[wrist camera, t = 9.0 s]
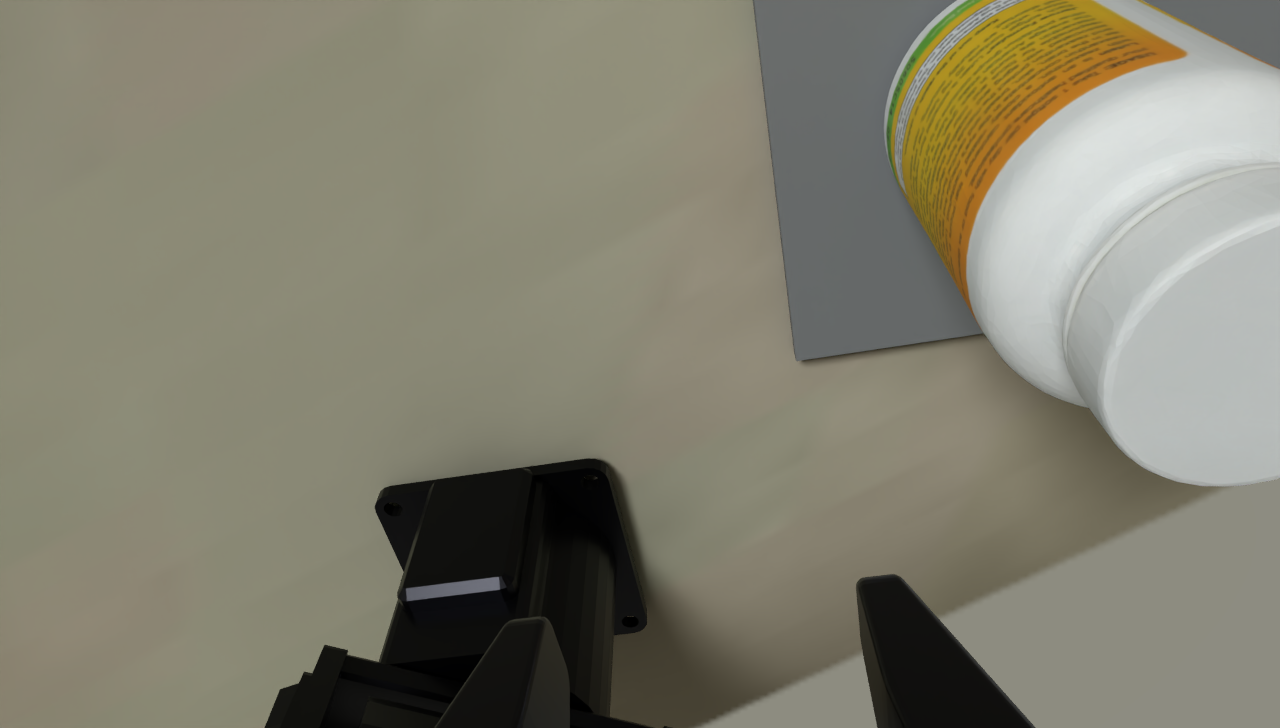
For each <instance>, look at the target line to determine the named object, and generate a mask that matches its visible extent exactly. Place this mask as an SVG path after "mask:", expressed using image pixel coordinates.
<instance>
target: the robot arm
mask: <svg viewBox="0 0 1280 728" xmlns="http://www.w3.org/2000/svg"><path fill="white" fill-rule="evenodd" d="M587 475H593V476H595V477H597V478H598V479H595V480H588V479H586V478H584V477H585V476H587ZM390 502H392V503H397V504H399V505H400V507H399V506H393V505H391V504H390ZM375 510H376V513H377V515H378V517H379V520H380V522H381V524H382V526H383V528H384V530H385V533H386V535H387V537H388V539H389V541H390V543H391V545H392V548H393V550H394V552H395V554H396V556H397V558H398V561H399V563H400V565H401V567H402V569H403V571H404V573H403V576H402V580H401V583H400V586H399V589H398V592H397V596H398V601H397V604H396V607H395V610H394V614H393V617H392V620H391V623H390V627H389V630H388V633H387V636H386V640H385V643H384V646H383V649H382V653H381V656H380V659H379V662H376V661H372V660H368V659H364V658H360V657H355V656H351V655H347V653H348V650H345V649H340V648H336V647H332V646H328V645H324V647H323V650H322V652H321V654H320V657H319V659H318V662H317V664H316V666H315V669H314V671H313V673H308V672H304V673H303V675H302V678H301V680H300V682H299V683H298V684H295V685H292V686H289V687H286V688H283V689H280V691H279V693H278V696H277V698H276V701H275V703H274V706H273V708H272V711H271V713H270V716H269V718H268V721H267V723H266V726H265V728H654V727H650V726H645V725H641V724H637V723H633V722H628V721H624V720H620V719H616V718H612V717H610V698H611V678H612V657H613V637H614V635H620V634H628V633H635V632H639V631H641V630H642V629H644V628H645V626H646V625H647V608H646V604H645V601H644V597H643V593H642V589H641V586H640V582H639V578H638V575H637V571H636V567H635V563H634V560H633V556H632V552H631V549H630V545H629V541H628V538H627V534H626V530H625V526H624V523H623V519H622V515H621V512H620V508H619V504H618V500H617V497H616V493H615V489H614V486H613V482H612V478H611V475H610V471H609V469H608V467H607V465H606V464H604V463H603V462H602V461H600V460H597V459H581V460H573V461H566V462H559V463H552V464H545V465H538V466H530V467H523V468H516V469H509V470H502V471H495V472H487V473H480V474H473V475H466V476H459V477H452V478H444V479H437V480H430V481H423V482H416V483H409V484H401V485H394V486H389V487H386V488H384V489H383V490H382V491H380V494H379V496H378V499H377V502H376V505H375ZM856 592H857V604H858V615H859V626H860V637H861V644H862V650H863V656H864V661H865V666H866V672H867V676H868V682H869V686H870V692H871V697H872V702H873V707H874V712H875V717H876V722H877V727H878V728H1035V727H1034V726H1033V724H1032V723H1031V722H1030V721H1029V720H1028V719H1027V718H1026V717H1025V715H1024V714H1023V713H1022V712H1021V711H1020V710H1019V709H1018V708H1017V706H1016V705H1015V704H1014V703H1013V702H1012V701H1011V700H1010V699H1009V697H1008V696H1007V695H1006V694H1005V693H1004V692H1003V691H1002V690H1001V688H1000V687H999V686H998V685H997V684H996V683H995V682H994V681H993V679H992V678H991V677H990V676H989V675H988V674H987V673H986V672H985V670H984V669H983V668H982V667H981V666H980V665H979V664H978V663H977V661H976V660H975V659H974V658H973V657H972V656H971V655H970V654H969V653H968V651H967V650H966V649H965V648H964V647H963V646H962V645H961V644H960V642H959V641H958V640H957V639H956V638H955V637H954V636H953V635H952V633H951V632H950V631H949V630H948V629H947V628H946V627H945V626H944V624H943V623H942V622H941V621H940V620H939V619H938V618H937V617H936V615H935V614H934V613H933V612H932V611H931V610H930V609H929V608H928V606H927V605H926V604H925V603H924V602H923V601H922V600H921V599H920V597H919V596H918V595H917V594H916V593H915V592H914V591H913V590H912V588H911V587H910V586H909V585H908V584H907V583H906V582H905V581H904V580H903V579H902V578H901V577H900V576H897V575H895V574H890V575H881V576H873V577H865V578H861V579H860V580H859V581H858V582H857V584H856ZM627 616H634V617H627ZM663 728H671V727H667V726H664V727H663Z"/></svg>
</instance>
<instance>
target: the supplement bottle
mask: <svg viewBox="0 0 1280 728" xmlns="http://www.w3.org/2000/svg"><path fill="white" fill-rule="evenodd" d="M884 140H885V147H886V152H887V156H888V161H889V164H890V167H891V170H892V172H893V174H894V176H895V179H896V181H897V183H898V185H899V187H900V189H901V191H902V193H903V194H904V196H905V198H906V199H907V201H908V203H909V205H910V206H911V208H912V210H913V211H914V213H915V215H916V216H917V218H918V220H919V221H920V223H921V225H922V227H923V228H924V230H925V231H926V233H927V234H928V236H929V238H930V240H931V242H932V244H933V245H934V247H935V249H936V251H937V252H938V254H939V256H940V258H941V260H942V262H943V263H944V265H945V267H946V268H947V270H948V272H949V273H950V275H951V277H952V279H953V280H954V282H955V284H956V286H957V288H958V289H959V291H960V293H961V295H962V296H963V298H964V300H965V302H966V304H967V306H968V307H969V309H970V311H971V313H972V315H973V316H974V318H975V320H976V322H977V324H978V325H979V327H980V329H981V330H982V332H983V333H984V334H985V336H986V337H987V338H988V340H989V341H990V343H991V344H992V346H993V347H994V349H995V350H996V351H997V353H998V354H999V355H1000V356H1001V358H1002V359H1003V360H1004V361H1005V362H1006V363H1007V364H1008V366H1009V367H1010V368H1012V369H1013V370H1014V371H1015V372H1016V373H1017V374H1018V375H1020V376H1021V377H1022V378H1023V379H1024V380H1026V381H1027V382H1029V383H1030V384H1032V385H1033V386H1035V387H1036V388H1038V389H1039V390H1041V391H1043V392H1045V393H1047V394H1049V395H1051V396H1053V397H1055V398H1057V399H1060V400H1063V401H1066V402H1069V403H1072V404H1075V405H1078V406H1082V407H1086V408H1089V409H1090V410H1091V412H1092V413H1093V414H1094V416H1095V417H1096V419H1097V420H1098V421H1099V423H1100V424H1101V425H1102V427H1103V428H1104V429H1105V431H1106V432H1107V433H1108V435H1109V436H1110V437H1111V439H1112V440H1113V442H1114V443H1115V444H1116V446H1117V447H1118V448H1119V449H1120V450H1121V451H1122V452H1123V453H1124V454H1125V455H1126V456H1128V457H1129V458H1130V459H1132V460H1133V461H1134V462H1136V463H1137V464H1139V465H1140V466H1141V467H1143V468H1145V469H1146V470H1148V471H1150V472H1152V473H1155V474H1157V475H1160V476H1162V477H1165V478H1167V479H1170V480H1173V481H1176V482H1181V483H1187V484H1193V485H1199V486H1243V485H1250V484H1255V483H1261V482H1267V481H1272V480H1276V479H1279V478H1280V69H1279V68H1277V67H1275V66H1273V65H1271V64H1268V63H1266V62H1264V61H1262V60H1260V59H1258V58H1256V57H1254V56H1252V55H1250V54H1248V53H1246V52H1243V51H1241V50H1239V49H1237V48H1235V47H1234V46H1232V45H1230V44H1228V43H1226V42H1224V41H1222V40H1220V39H1218V38H1216V37H1214V36H1212V35H1210V34H1208V33H1206V32H1204V31H1202V30H1200V29H1198V28H1196V27H1194V26H1192V25H1190V24H1188V23H1186V22H1184V21H1182V20H1180V19H1178V18H1176V17H1174V16H1172V15H1170V14H1168V13H1166V12H1164V11H1163V10H1161V9H1159V8H1157V7H1155V6H1152V5H1150V4H1149V3H1147V2H1145V1H1143V0H956V1H955V2H954V3H952V4H951V5H950V6H948V7H947V8H946V9H945V10H943V11H942V12H941V13H940V14H939V15H937V16H936V17H935V18H934V19H933V20H932V21H931V22H930V23H929V24H928V25H927V26H926V27H925V29H924V30H923V31H922V32H921V33H920V34H919V36H918V37H917V38H916V39H915V41H914V42H913V44H912V45H911V47H910V48H909V50H908V52H907V53H906V55H905V57H904V58H903V60H902V62H901V64H900V66H899V68H898V70H897V72H896V75H895V77H894V79H893V82H892V85H891V88H890V91H889V94H888V99H887V103H886V108H885V117H884Z"/></svg>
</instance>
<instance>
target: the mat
mask: <svg viewBox="0 0 1280 728" xmlns="http://www.w3.org/2000/svg"><path fill="white" fill-rule="evenodd" d="M955 1H956V0H753V5H754V13H755V22H756V30H757V39H758V48H759V56H760V65H761V73H762V82H763V90H764V99H765V107H766V116H767V124H768V133H769V141H770V150H771V158H772V167H773V175H774V184H775V192H776V201H777V209H778V218H779V226H780V235H781V243H782V252H783V260H784V269H785V278H786V286H787V295H788V303H789V312H790V320H791V329H792V337H793V346H794V353H795V358H796V361H800V360H807V359H814V358H821V357H827V356H834V355H841V354H848V353H854V352H861V351H868V350H875V349H881V348H888V347H895V346H902V345H908V344H915V343H922V342H929V341H935V340H942V339H949V338H956V337H962V336H969V335H976V334H983V332H982V330H981V329H980V327H979V325H978V324H977V322H976V320H975V318H974V316H973V315H972V313H971V311H970V309H969V307H968V306H967V304H966V302H965V300H964V298H963V296H962V295H961V293H960V291H959V289H958V288H957V286H956V284H955V282H954V280H953V279H952V277H951V275H950V273H949V272H948V270H947V268H946V267H945V265H944V263H943V262H942V260H941V258H940V256H939V254H938V252H937V251H936V249H935V247H934V245H933V244H932V242H931V240H930V238H929V236H928V234H927V233H926V231H925V230H924V228H923V227H922V225H921V223H920V221H919V220H918V218H917V216H916V215H915V213H914V211H913V210H912V208H911V206H910V205H909V203H908V201H907V199H906V198H905V196H904V194H903V193H902V191H901V189H900V187H899V185H898V183H897V181H896V179H895V176H894V174H893V172H892V170H891V167H890V164H889V161H888V156H887V152H886V147H885V140H884V117H885V108H886V103H887V99H888V94H889V91H890V88H891V85H892V82H893V79H894V77H895V75H896V72H897V70H898V68H899V66H900V64H901V62H902V60H903V58H904V57H905V55H906V53H907V52H908V50H909V48H910V47H911V45H912V44H913V42H914V41H915V39H916V38H917V37H918V36H919V34H920V33H921V32H922V31H923V30H924V29H925V27H926V26H927V25H928V24H929V23H930V22H931V21H932V20H933V19H934V18H935V17H936V16H937V15H939V14H940V13H941V12H942V11H943V10H945V9H946V8H947V7H948V6H950V5H951V4H952V3H954V2H955ZM1143 1H1145V2H1147V3H1149V4H1150V5H1152V6H1155V7H1157V8H1159V9H1161V10H1163V11H1164V12H1166V13H1168V14H1170V15H1172V16H1174V17H1176V18H1178V19H1180V20H1182V21H1184V22H1186V23H1188V24H1190V25H1192V26H1194V27H1196V28H1198V29H1200V30H1202V31H1204V32H1206V33H1208V34H1210V35H1212V36H1214V37H1216V38H1218V39H1220V40H1222V41H1224V42H1226V43H1228V44H1230V45H1232V46H1234V47H1235V48H1237V49H1239V50H1241V51H1243V52H1246V53H1248V54H1250V55H1252V56H1254V57H1256V58H1258V59H1260V60H1262V61H1264V62H1266V63H1268V64H1271V65H1273V66H1275V67H1277V68H1279V69H1280V0H1143Z"/></svg>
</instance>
